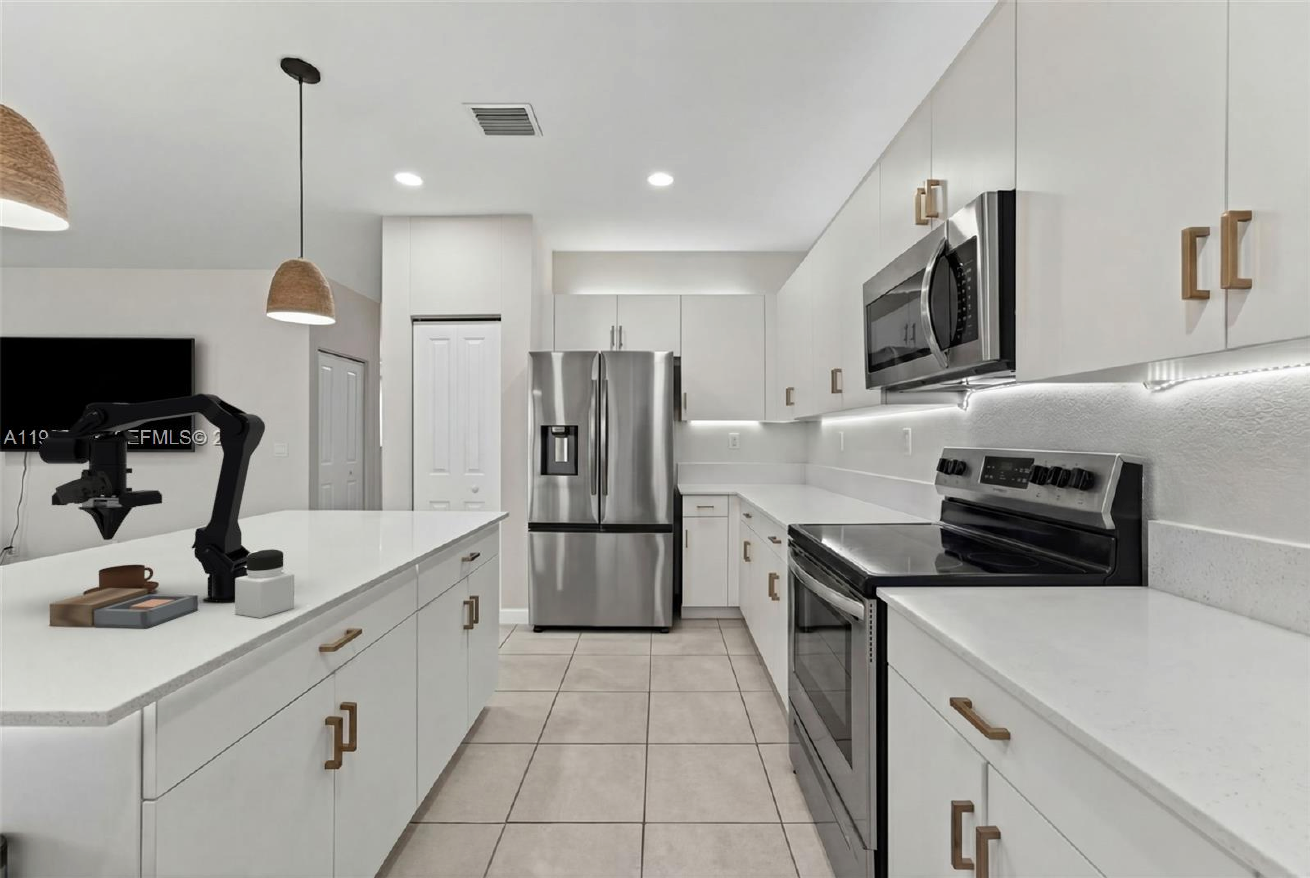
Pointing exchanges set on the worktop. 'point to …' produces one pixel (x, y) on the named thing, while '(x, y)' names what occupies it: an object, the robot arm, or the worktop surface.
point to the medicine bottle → (264, 586)
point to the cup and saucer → (125, 578)
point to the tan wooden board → (89, 606)
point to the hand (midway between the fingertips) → (107, 539)
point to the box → (145, 612)
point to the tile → (149, 604)
